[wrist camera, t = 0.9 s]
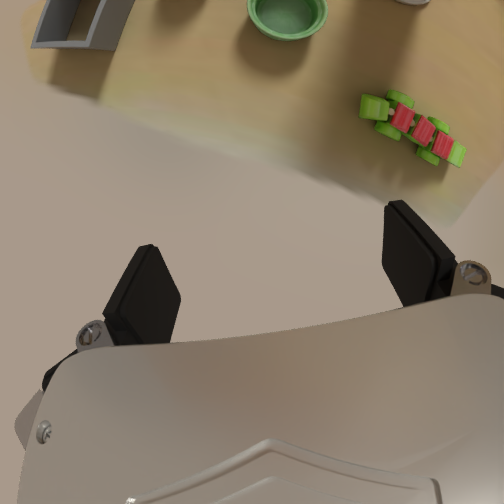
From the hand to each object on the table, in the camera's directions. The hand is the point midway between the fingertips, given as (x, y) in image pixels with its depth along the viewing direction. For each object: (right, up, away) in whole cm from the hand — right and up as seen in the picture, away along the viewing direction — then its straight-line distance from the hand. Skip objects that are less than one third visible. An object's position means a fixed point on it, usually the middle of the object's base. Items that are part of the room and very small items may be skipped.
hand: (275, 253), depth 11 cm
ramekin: (+3, +29, +13) cm, 32 cm away
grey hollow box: (-22, +32, +11) cm, 41 cm away
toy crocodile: (+21, +18, +21) cm, 35 cm away
